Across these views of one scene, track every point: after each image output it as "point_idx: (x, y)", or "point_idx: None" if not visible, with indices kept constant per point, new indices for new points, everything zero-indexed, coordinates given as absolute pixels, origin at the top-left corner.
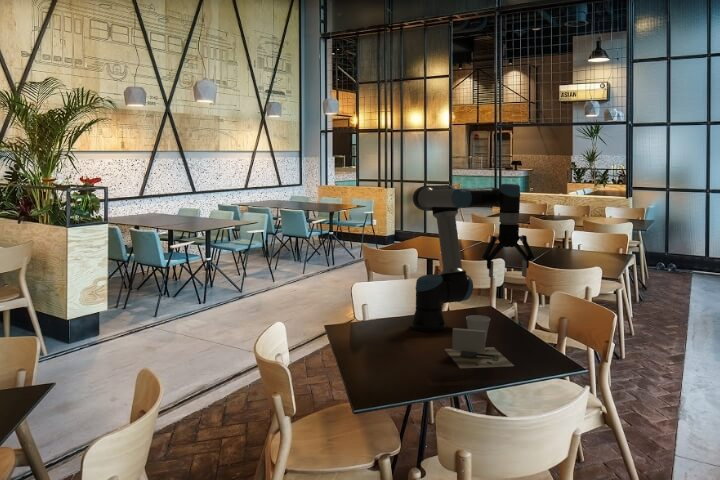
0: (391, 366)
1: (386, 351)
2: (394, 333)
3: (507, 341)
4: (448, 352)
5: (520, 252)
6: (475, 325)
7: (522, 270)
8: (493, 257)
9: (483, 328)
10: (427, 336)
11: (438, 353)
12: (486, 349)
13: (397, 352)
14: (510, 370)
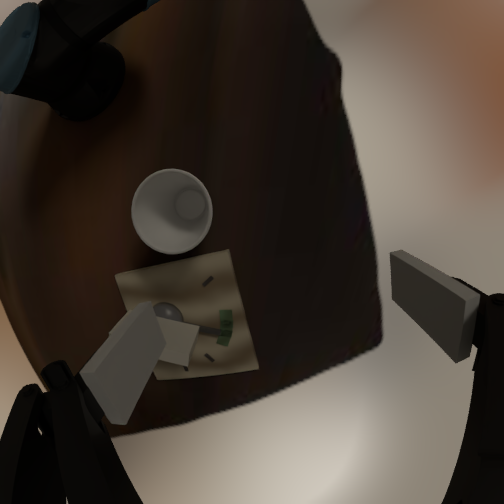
0: (60, 348)
1: (33, 275)
2: (29, 153)
3: (277, 167)
4: (125, 298)
5: (469, 424)
6: (165, 245)
7: (410, 274)
8: (112, 449)
9: (192, 239)
10: (81, 156)
11: (108, 283)
12: (208, 272)
13: (47, 280)
14: (250, 370)
